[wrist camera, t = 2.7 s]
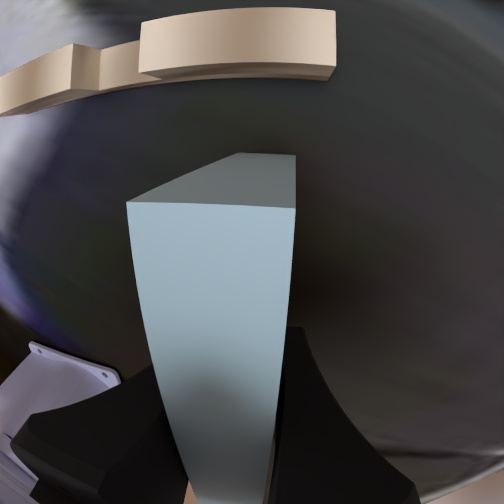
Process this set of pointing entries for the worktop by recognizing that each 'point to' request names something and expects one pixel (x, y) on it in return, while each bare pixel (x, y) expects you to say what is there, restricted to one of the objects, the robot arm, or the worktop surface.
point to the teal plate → (218, 312)
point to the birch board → (181, 56)
